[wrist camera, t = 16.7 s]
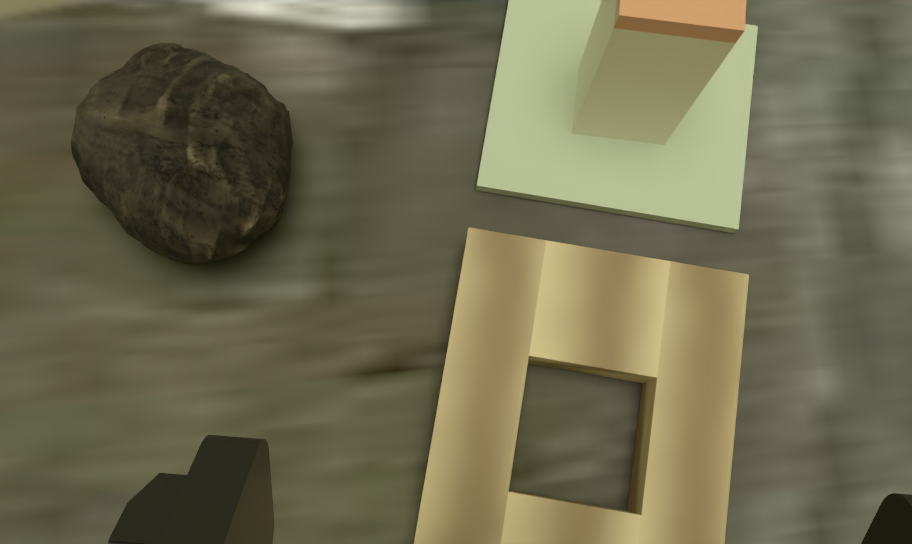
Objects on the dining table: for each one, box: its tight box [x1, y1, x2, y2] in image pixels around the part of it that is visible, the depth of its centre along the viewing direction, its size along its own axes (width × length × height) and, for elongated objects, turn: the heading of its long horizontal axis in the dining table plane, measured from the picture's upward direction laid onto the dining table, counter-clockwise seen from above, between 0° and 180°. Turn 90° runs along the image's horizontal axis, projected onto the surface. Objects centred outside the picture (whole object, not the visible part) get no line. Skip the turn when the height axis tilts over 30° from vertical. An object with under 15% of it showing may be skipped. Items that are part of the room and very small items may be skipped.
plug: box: [572, 0, 746, 145], centre depth 38 cm, size 5×4×12 cm
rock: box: [71, 43, 293, 263], centre depth 39 cm, size 10×11×10 cm
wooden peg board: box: [414, 228, 749, 544], centre depth 40 cm, size 14×18×3 cm
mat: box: [476, 0, 758, 233], centre depth 45 cm, size 14×12×1 cm
